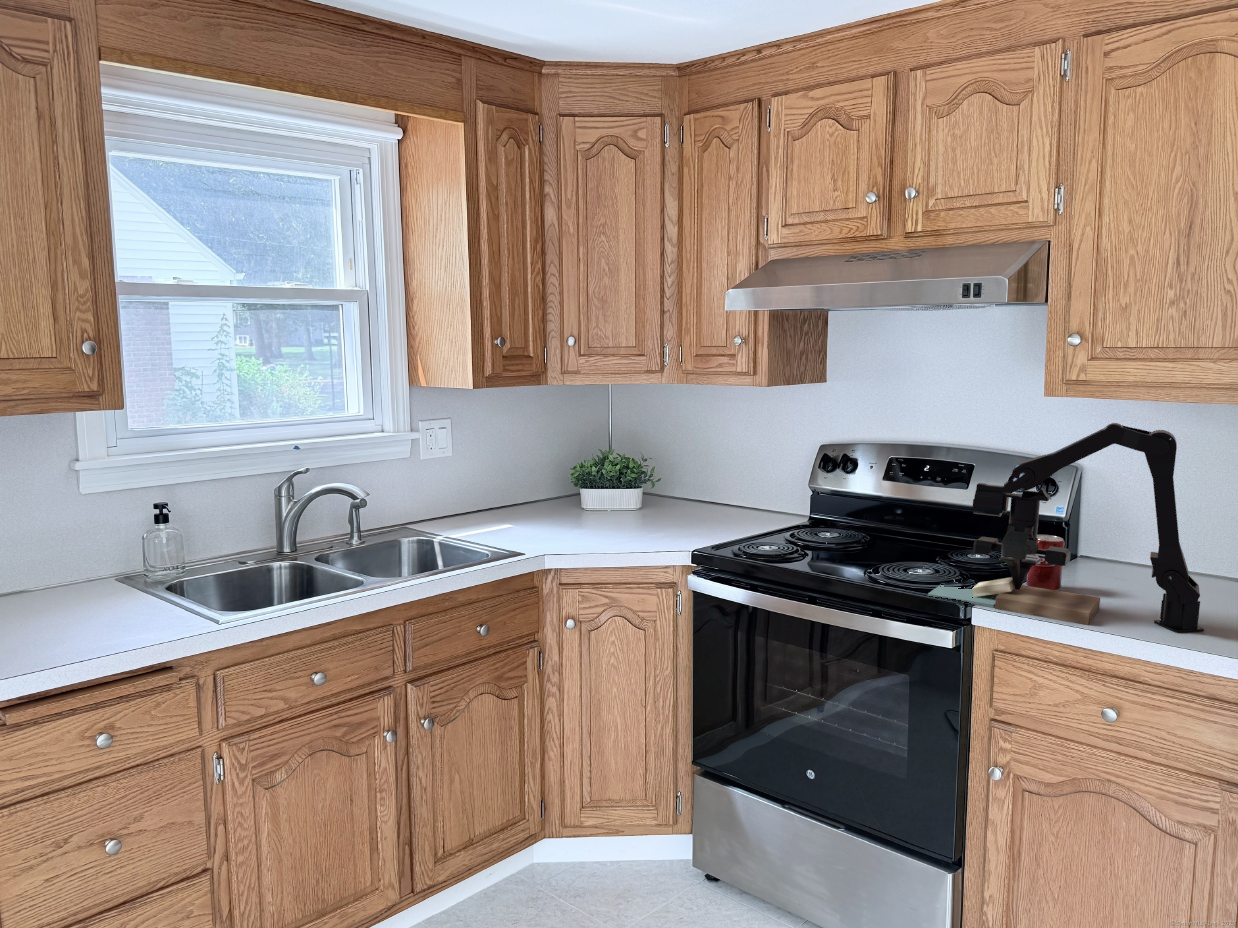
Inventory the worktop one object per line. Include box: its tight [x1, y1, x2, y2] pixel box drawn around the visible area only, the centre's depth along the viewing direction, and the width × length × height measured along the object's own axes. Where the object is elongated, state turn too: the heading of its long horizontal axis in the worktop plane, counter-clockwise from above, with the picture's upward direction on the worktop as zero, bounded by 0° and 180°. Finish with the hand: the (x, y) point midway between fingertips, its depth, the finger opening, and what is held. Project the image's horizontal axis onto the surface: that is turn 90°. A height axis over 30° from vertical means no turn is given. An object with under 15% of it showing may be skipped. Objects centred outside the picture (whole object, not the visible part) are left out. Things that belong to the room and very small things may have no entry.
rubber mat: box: [927, 584, 1000, 608], centre depth 210 cm, size 14×13×1 cm
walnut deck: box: [994, 584, 1101, 626], centre depth 200 cm, size 18×14×2 cm
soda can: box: [1026, 534, 1066, 591], centre depth 216 cm, size 7×7×12 cm
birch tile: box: [972, 576, 1015, 597], centre depth 206 cm, size 8×6×2 cm
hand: (1017, 589), depth 203 cm, fingers closed
